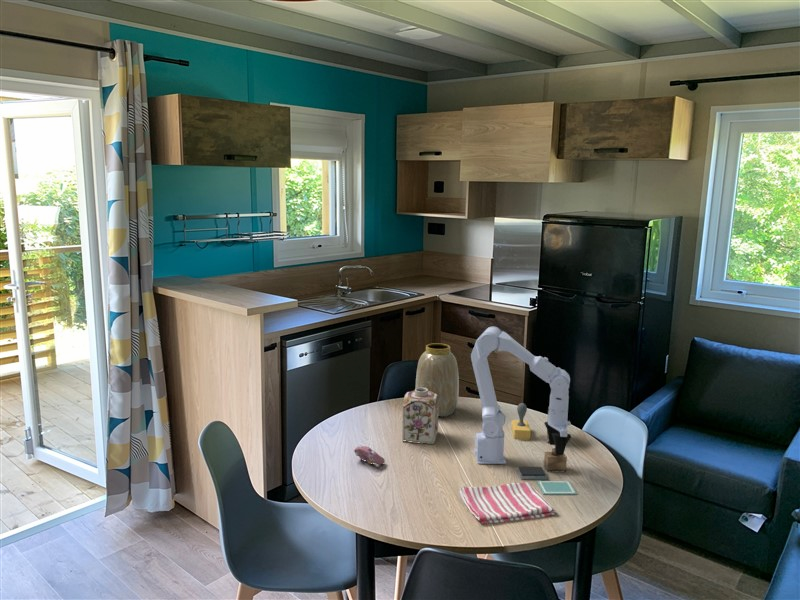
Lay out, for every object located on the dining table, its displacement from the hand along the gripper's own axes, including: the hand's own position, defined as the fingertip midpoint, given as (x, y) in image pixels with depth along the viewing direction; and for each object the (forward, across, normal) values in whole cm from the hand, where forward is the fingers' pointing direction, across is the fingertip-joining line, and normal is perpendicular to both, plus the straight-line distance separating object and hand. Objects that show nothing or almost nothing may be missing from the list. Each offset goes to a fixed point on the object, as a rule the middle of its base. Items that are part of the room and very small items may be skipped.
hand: (556, 449), depth 196 cm
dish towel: (+7, -23, +20) cm, 31 cm away
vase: (+7, +51, +34) cm, 62 cm away
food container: (+7, +24, -7) cm, 26 cm away
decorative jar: (+7, +25, +42) cm, 49 cm away
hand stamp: (+7, 0, 0) cm, 7 cm away
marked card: (+7, -13, +3) cm, 15 cm away
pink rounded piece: (+7, +4, +60) cm, 60 cm away
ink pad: (+7, -4, +9) cm, 12 cm away
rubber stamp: (+7, +28, +5) cm, 29 cm away
